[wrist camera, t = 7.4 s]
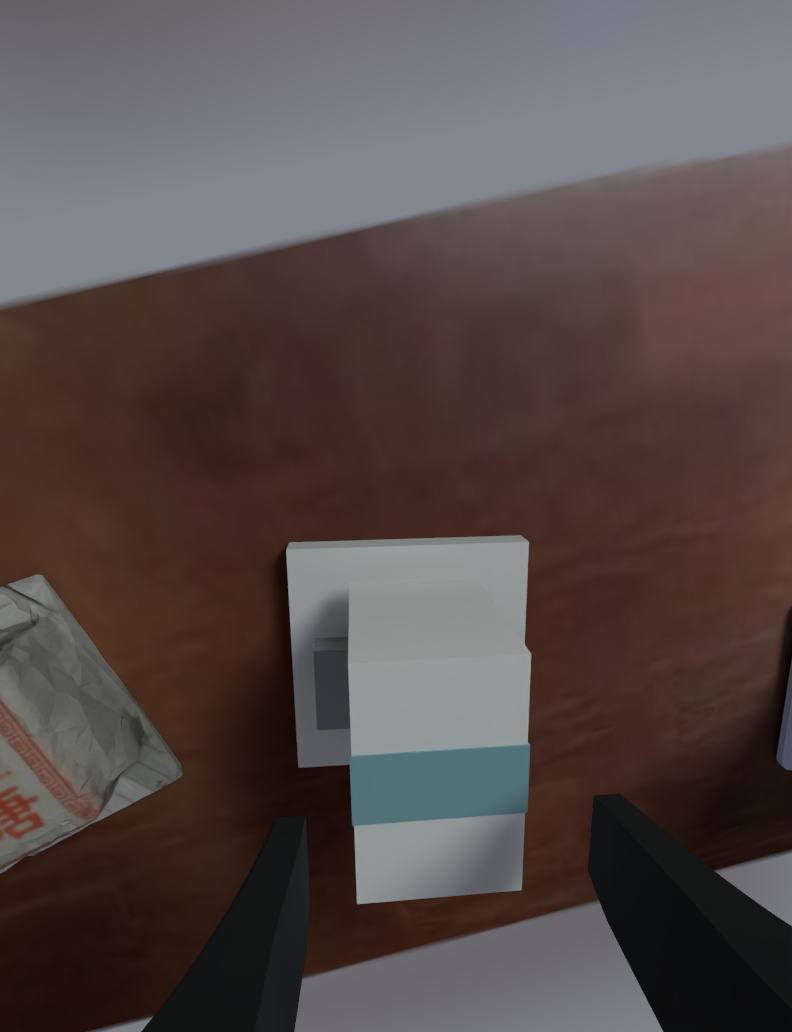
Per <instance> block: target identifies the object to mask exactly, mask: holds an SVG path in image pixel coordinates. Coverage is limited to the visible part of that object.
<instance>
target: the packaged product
mask: <svg viewBox="0 0 792 1032" xmlns="http://www.w3.org/2000/svg"><path fill="white" fill-rule="evenodd" d="M182 775H183V773H182V767H181V764H180V762H179V761H178V760H177V758H176V757H175V755H174V754H173V752H172V751H171V749H170V748H169V747H168V745H167V744H166V742H165V741H164V740H163V738H162V737H161V735H160V734H159V733H158V731H157V730H156V728H155V727H154V726H153V724H152V723H151V722H150V720H149V719H148V717H147V716H146V715H145V713H144V712H143V710H142V709H141V708H140V706H139V705H138V703H137V702H136V701H135V699H134V698H133V696H132V695H131V694H130V692H129V691H128V689H127V688H126V687H125V685H124V684H123V683H122V681H121V680H120V678H119V677H118V676H117V675H116V673H115V672H114V671H113V670H112V668H111V667H110V666H109V665H108V664H107V662H106V661H105V660H104V658H103V657H102V655H101V654H100V653H99V651H98V650H97V648H96V647H95V645H94V644H93V642H92V641H91V639H90V638H89V637H88V635H87V634H86V633H85V631H84V630H83V629H82V627H81V626H80V625H79V623H78V622H77V621H76V619H75V618H74V617H73V615H72V614H71V613H70V611H69V610H68V609H67V607H66V606H65V605H64V603H63V602H62V600H61V599H60V598H59V596H58V595H57V594H56V592H55V591H54V590H53V588H52V587H51V586H50V584H49V583H48V582H47V580H46V579H45V578H44V576H41V575H38V574H37V575H34V576H31V577H28V578H25V579H22V580H19V581H16V582H13V583H10V584H7V585H5V586H2V587H0V873H2V872H4V871H6V870H7V869H9V868H10V867H11V866H13V865H14V864H15V863H17V862H18V861H19V860H21V859H22V858H23V857H25V856H33V855H35V854H37V853H39V852H41V851H43V850H45V849H46V848H48V847H50V846H52V845H54V844H56V843H58V842H59V841H61V840H63V839H65V838H67V837H69V836H71V835H73V834H75V833H77V832H79V831H80V830H82V829H84V828H85V827H87V826H88V825H90V824H92V823H94V822H97V821H99V820H101V819H103V818H105V817H107V816H109V815H111V814H113V813H115V812H117V811H119V810H121V809H123V808H125V807H126V806H128V805H130V804H132V803H134V802H136V801H138V800H139V799H141V798H143V797H145V796H147V795H149V794H151V793H153V792H156V791H157V790H159V789H161V788H163V787H165V786H166V785H168V784H170V783H172V782H173V781H175V780H177V779H179V778H180V777H181V776H182Z"/></svg>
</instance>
